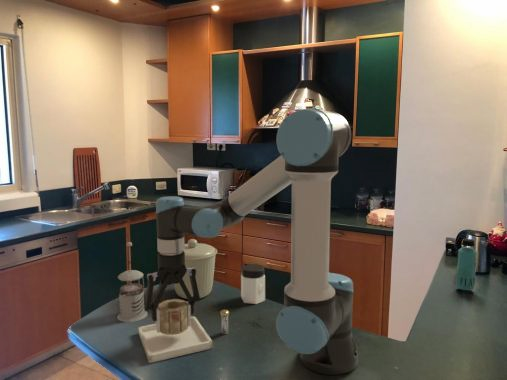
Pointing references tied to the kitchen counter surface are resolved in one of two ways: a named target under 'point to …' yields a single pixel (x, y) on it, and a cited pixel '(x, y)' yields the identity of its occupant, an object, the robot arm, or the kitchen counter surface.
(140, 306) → the french press
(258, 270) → the jar
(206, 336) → the tray
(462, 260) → the beverage bottle
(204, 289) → the canister
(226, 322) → the stake
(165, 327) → the ring
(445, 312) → the kitchen counter surface
